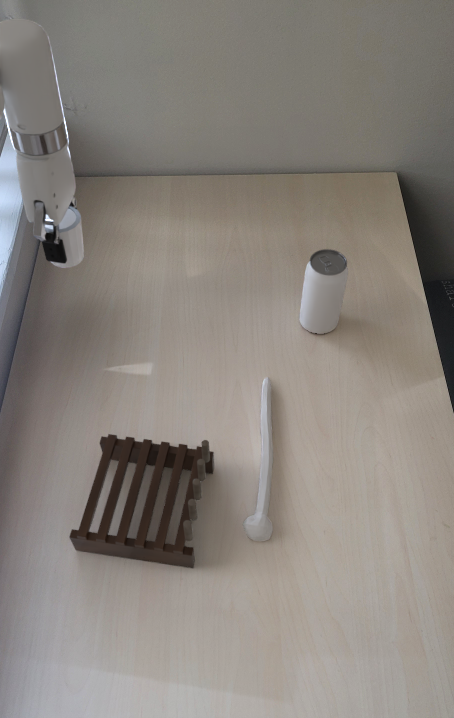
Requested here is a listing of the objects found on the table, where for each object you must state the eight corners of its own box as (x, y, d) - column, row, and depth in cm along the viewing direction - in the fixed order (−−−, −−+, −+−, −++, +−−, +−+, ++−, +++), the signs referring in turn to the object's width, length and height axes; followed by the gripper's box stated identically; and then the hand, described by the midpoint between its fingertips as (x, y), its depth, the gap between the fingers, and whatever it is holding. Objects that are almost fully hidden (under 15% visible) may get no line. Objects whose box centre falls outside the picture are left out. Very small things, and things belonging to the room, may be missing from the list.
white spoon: (247, 380, 99) (247, 367, 97) (273, 380, 99) (274, 368, 97) (242, 542, 86) (242, 532, 83) (272, 543, 86) (273, 533, 83)
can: (310, 340, 104) (319, 281, 93) (292, 313, 106) (299, 254, 96) (345, 328, 105) (358, 269, 94) (326, 302, 108) (336, 242, 97)
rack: (75, 550, 85) (60, 519, 78) (106, 452, 93) (95, 415, 85) (193, 568, 84) (189, 539, 76) (214, 467, 92) (213, 431, 84)
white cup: (86, 240, 105) (79, 201, 99) (89, 268, 102) (82, 230, 96) (44, 244, 105) (34, 205, 98) (45, 272, 101) (35, 234, 95)
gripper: (32, 95, 91) (57, 208, 106) (-11, 167, 82) (23, 279, 97) (83, 101, 90) (101, 214, 106) (46, 174, 81) (71, 285, 97)
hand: (64, 244), depth 101 cm, fingers closed on white cup, 6 cm apart
